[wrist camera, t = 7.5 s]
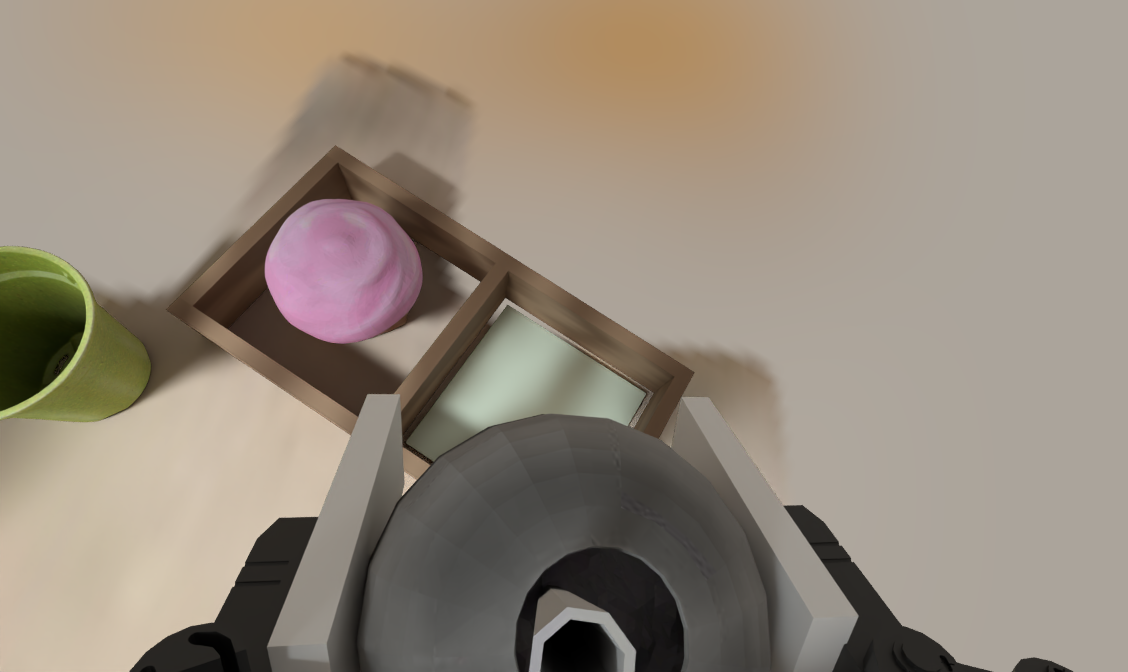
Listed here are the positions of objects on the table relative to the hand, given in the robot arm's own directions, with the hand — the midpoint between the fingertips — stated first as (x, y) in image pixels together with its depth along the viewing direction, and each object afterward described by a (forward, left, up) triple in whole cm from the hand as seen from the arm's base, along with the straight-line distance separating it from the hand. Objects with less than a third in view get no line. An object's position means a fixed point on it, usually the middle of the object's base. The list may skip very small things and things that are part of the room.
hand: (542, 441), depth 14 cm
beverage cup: (+2, -3, -9) cm, 9 cm away
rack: (-8, +5, -23) cm, 25 cm away
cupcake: (-15, +5, -24) cm, 29 cm away
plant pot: (-26, -8, -24) cm, 36 cm away
